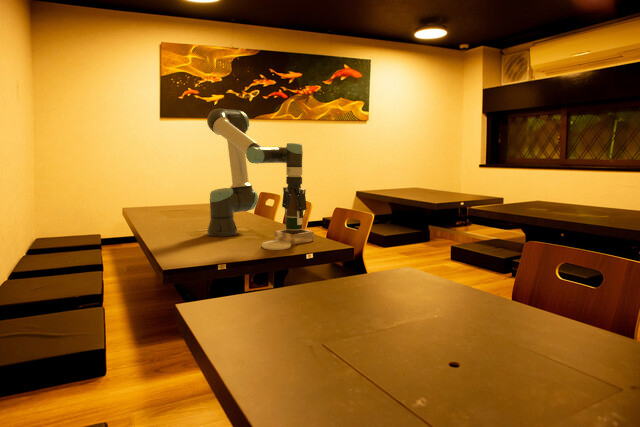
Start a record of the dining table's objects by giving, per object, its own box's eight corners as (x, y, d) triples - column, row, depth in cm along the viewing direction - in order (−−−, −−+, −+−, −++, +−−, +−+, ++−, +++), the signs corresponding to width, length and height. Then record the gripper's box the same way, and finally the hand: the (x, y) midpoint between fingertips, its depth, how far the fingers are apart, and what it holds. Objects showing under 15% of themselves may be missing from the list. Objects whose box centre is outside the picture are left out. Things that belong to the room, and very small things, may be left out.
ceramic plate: (256, 246, 199) (256, 243, 199) (278, 242, 208) (278, 239, 208) (274, 251, 190) (274, 247, 189) (296, 246, 199) (296, 243, 198)
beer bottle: (302, 236, 216) (303, 188, 213) (300, 239, 208) (301, 189, 205) (287, 236, 217) (287, 187, 213) (284, 239, 209) (284, 189, 206)
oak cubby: (274, 240, 213) (274, 231, 212) (295, 236, 222) (295, 227, 221) (292, 244, 203) (292, 235, 203) (313, 240, 213) (313, 231, 212)
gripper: (274, 175, 213) (274, 221, 216) (302, 177, 198) (302, 227, 202) (286, 174, 218) (286, 219, 221) (314, 177, 204) (314, 225, 207)
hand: (293, 223), depth 212 cm, fingers closed on beer bottle, 8 cm apart
